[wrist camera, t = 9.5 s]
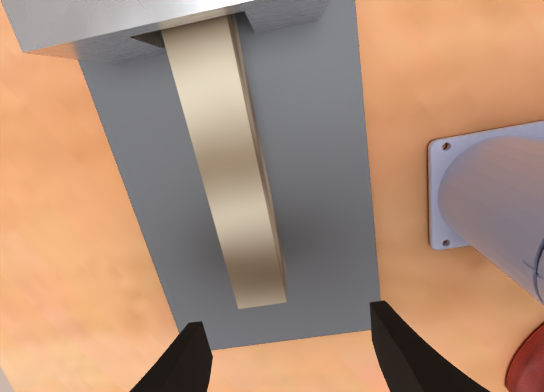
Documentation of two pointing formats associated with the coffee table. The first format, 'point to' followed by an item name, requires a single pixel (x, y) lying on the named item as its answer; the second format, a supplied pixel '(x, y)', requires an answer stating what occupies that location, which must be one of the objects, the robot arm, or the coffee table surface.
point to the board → (281, 175)
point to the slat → (229, 154)
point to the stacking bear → (528, 366)
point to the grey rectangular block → (134, 23)
